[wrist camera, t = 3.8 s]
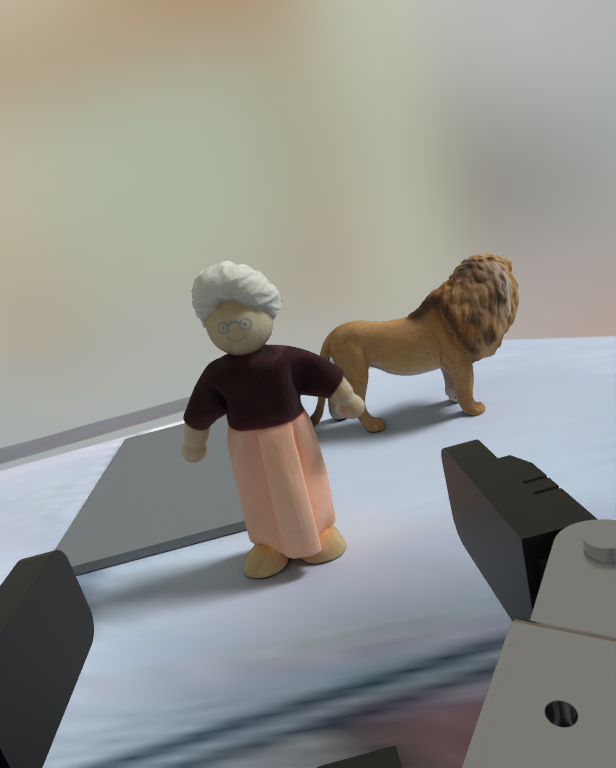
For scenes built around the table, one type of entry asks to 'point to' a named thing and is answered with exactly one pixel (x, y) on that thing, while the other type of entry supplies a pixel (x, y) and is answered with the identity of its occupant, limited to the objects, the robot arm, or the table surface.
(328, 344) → the lion figurine
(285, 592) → the table surface
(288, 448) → the grandmother figurine
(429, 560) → the table surface
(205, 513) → the mat
